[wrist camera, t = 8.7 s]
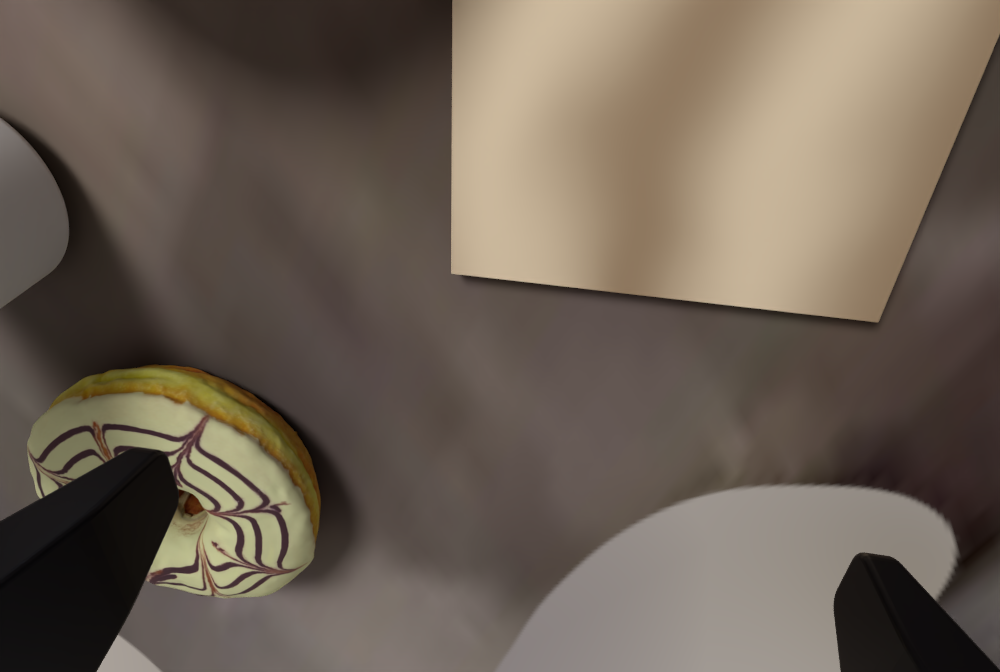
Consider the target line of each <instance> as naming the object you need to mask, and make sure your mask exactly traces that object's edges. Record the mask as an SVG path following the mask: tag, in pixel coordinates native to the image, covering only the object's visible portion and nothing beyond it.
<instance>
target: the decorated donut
mask: <svg viewBox="0 0 1000 672" xmlns="http://www.w3.org/2000/svg"><path fill="white" fill-rule="evenodd" d="M134 447H142V448H149V449H156V450H161V451H163V452H164V453H165V454H166V455H167V456H168V458H169V462H170V465H171V468H172V471H173V474H174V478H175V481H176V484H177V487H178V491H179V503H178V507H177V510H176V512H175V514H174V517H173V519H172V521H171V523H170V526H169V528H168V530H167V532H166V535H165V537H164V539H163V541H162V544H161V546H160V548H159V550H158V552H157V555H156V557H155V559H154V561H153V564H152V566H151V568H150V570H149V573H148V575H147V577H146V579H145V580H146V581H148V582H150V583H152V584H155V585H159V586H167V587H171V588H175V589H178V590H182V591H186V592H189V593H194V594H197V595H201V596H211V597H220V598H236V597H261V596H266V595H269V594H272V593H274V592H276V591H278V590H279V589H280V588H282V587H283V586H284V585H286V584H287V583H289V582H290V581H291V580H293V579H294V578H295V577H296V576H297V575H298V574H299V573H300V572H302V571H303V570H304V569H305V568H306V567H307V566H308V565H309V564H310V563H311V561H312V560H313V558H314V549H315V545H316V538H317V533H318V529H319V518H320V508H321V498H320V491H319V488H318V483H317V478H316V473H315V471H314V468H313V465H312V459H311V457H310V455H309V453H308V451H307V449H306V447H305V446H304V445H303V443H302V441H301V439H300V438H299V437H298V435H297V432H294V430H293V429H292V428H291V427H290V425H288V424H287V423H286V422H285V421H284V420H283V418H282V417H281V416H280V415H279V414H278V413H277V412H275V411H273V410H272V409H271V408H270V407H268V406H267V405H266V404H265V403H263V402H262V401H260V400H259V399H257V398H256V397H255V396H254V395H253V394H251V393H250V392H248V391H246V390H243V389H241V388H240V387H238V386H236V385H234V384H233V383H231V382H228V381H226V380H223V379H221V378H219V377H216V376H212V375H210V374H208V373H206V372H204V371H201V370H200V369H196V368H192V367H182V366H175V365H157V364H153V365H147V366H143V367H138V368H131V369H119V370H117V369H116V370H109V371H107V372H105V373H103V374H96V375H91V376H88V377H85V378H83V379H81V380H80V381H79V382H77V383H76V384H74V385H73V386H72V387H70V388H69V389H67V390H66V391H64V392H63V393H62V394H60V395H59V396H58V397H57V398H56V399H55V400H54V402H53V403H52V405H51V406H50V408H49V410H48V411H47V412H46V413H44V414H43V415H42V416H41V417H39V419H38V420H37V421H36V422H35V423H34V425H33V427H32V430H31V436H30V438H29V440H28V443H27V450H28V453H27V454H28V458H29V465H30V471H31V474H32V476H33V478H34V482H35V488H36V492H37V495H38V496H39V498H40V499H41V498H43V497H44V496H46V495H48V494H50V493H51V492H53V491H55V490H57V489H59V488H60V487H62V486H64V485H66V484H67V483H69V482H71V481H73V480H75V479H76V478H78V477H80V476H82V475H83V474H85V473H87V472H89V471H91V470H92V469H94V468H96V467H98V466H100V465H101V464H103V463H105V462H107V461H108V460H110V459H112V458H114V457H116V456H117V455H119V454H121V453H123V452H124V451H126V450H128V449H131V448H134Z"/></svg>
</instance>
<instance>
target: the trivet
mask: <svg viewBox="0 0 1000 672" xmlns="http://www.w3.org/2000/svg"><path fill="white" fill-rule="evenodd" d="M999 35H1000V0H452V224H451V274H460V275H468V276H477V277H486V278H495V279H503V280H512V281H521V282H529V283H538V284H547V285H556V286H564V287H573V288H582V289H591V290H599V291H608V292H617V293H626V294H634V295H643V296H652V297H660V298H669V299H678V300H687V301H695V302H704V303H713V304H722V305H730V306H739V307H748V308H756V309H765V310H774V311H783V312H791V313H800V314H809V315H818V316H826V317H835V318H844V319H853V320H861V321H870V322H879V319H880V317H881V315H882V312H883V310H884V308H885V305H886V303H887V300H888V298H889V296H890V293H891V291H892V289H893V286H894V284H895V281H896V279H897V277H898V274H899V272H900V270H901V267H902V265H903V262H904V260H905V258H906V255H907V253H908V251H909V248H910V246H911V243H912V241H913V239H914V236H915V234H916V232H917V229H918V227H919V224H920V222H921V220H922V217H923V215H924V213H925V210H926V208H927V205H928V203H929V201H930V198H931V196H932V194H933V191H934V189H935V186H936V184H937V182H938V179H939V177H940V175H941V172H942V170H943V167H944V165H945V163H946V160H947V158H948V156H949V153H950V151H951V149H952V146H953V144H954V141H955V139H956V137H957V134H958V132H959V130H960V127H961V125H962V122H963V120H964V118H965V115H966V113H967V111H968V108H969V106H970V103H971V101H972V99H973V96H974V94H975V92H976V89H977V87H978V84H979V82H980V80H981V77H982V75H983V73H984V70H985V68H986V65H987V63H988V61H989V58H990V56H991V54H992V51H993V49H994V46H995V44H996V42H997V39H998V37H999Z"/></svg>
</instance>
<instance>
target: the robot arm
mask: <svg viewBox="0 0 1000 672" xmlns="http://www.w3.org/2000/svg"><path fill="white" fill-rule="evenodd" d="M178 503H179V491H178V487H177V484H176V481H175V478H174V474H173V471H172V468H171V465H170V462H169V458H168V456H167V455H166V454H165V453H164V452H163V451H161V450H156V449H149V448H142V447H134V448H131V449H128V450H126V451H124V452H123V453H121V454H119V455H117V456H116V457H114V458H112V459H110V460H108V461H107V462H105V463H103V464H101V465H100V466H98V467H96V468H94V469H92V470H91V471H89V472H87V473H85V474H83V475H82V476H80V477H78V478H76V479H75V480H73V481H71V482H69V483H67V484H66V485H64V486H62V487H60V488H59V489H57V490H55V491H53V492H51V493H50V494H48V495H46V496H44V497H43V498H41V499H39V500H37V501H35V502H34V503H32V504H30V505H28V506H27V507H25V508H23V509H21V510H19V511H18V512H16V513H14V514H12V515H11V516H9V517H7V518H5V519H3V520H2V521H0V672H97V670H98V668H99V666H100V665H101V663H102V661H103V659H104V658H105V656H106V654H107V652H108V651H109V649H110V647H111V645H112V644H113V642H114V640H115V638H116V637H117V635H118V633H119V632H120V630H121V628H122V626H123V624H124V623H125V621H126V619H127V617H128V615H129V613H130V611H131V609H132V607H133V605H134V603H135V601H136V599H137V597H138V595H139V593H140V590H141V588H142V586H143V584H144V581H145V579H146V577H147V575H148V573H149V570H150V568H151V566H152V564H153V561H154V559H155V557H156V555H157V552H158V550H159V548H160V546H161V544H162V541H163V539H164V537H165V535H166V532H167V530H168V528H169V526H170V523H171V521H172V519H173V517H174V514H175V512H176V510H177V507H178ZM834 617H835V626H836V634H837V643H838V652H839V660H840V668H841V672H1000V669H999V668H998V667H997V666H996V665H995V664H994V663H993V662H992V661H991V660H990V659H989V658H988V657H987V655H986V654H985V653H984V652H983V651H982V650H981V649H980V648H979V647H978V646H977V645H976V644H975V643H974V642H973V640H972V639H971V638H970V637H969V636H968V635H967V634H966V633H965V632H964V631H963V630H962V629H961V628H960V627H959V625H958V624H957V623H956V622H955V621H954V620H953V619H952V618H951V617H950V616H949V615H948V614H947V613H946V611H945V610H944V609H943V608H942V607H941V606H940V605H939V604H938V603H937V602H936V601H935V600H934V599H933V598H932V596H931V595H930V594H929V593H928V592H927V591H926V590H925V589H924V588H923V587H922V586H921V585H920V584H919V583H918V582H917V580H916V579H915V578H914V577H913V576H912V575H911V574H910V573H909V572H908V571H907V570H906V569H905V568H904V567H903V565H902V564H901V563H900V562H899V561H897V560H896V559H894V558H892V557H890V556H884V555H877V554H870V553H859V554H857V555H856V556H855V557H854V558H853V560H852V562H851V563H850V565H849V568H848V569H847V571H846V573H845V575H844V577H843V579H842V581H841V583H840V585H839V587H838V589H837V591H836V594H835V598H834Z"/></svg>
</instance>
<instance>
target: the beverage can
mask: <svg viewBox="0 0 1000 672" xmlns="http://www.w3.org/2000/svg"><path fill="white" fill-rule="evenodd" d="M68 240H69V221H68V214H67V210H66V206H65V203H64V199H63V197H62V194H61V192H60V189H59V187H58V185H57V183H56V181H55V179H54V177H53V176H52V174H51V172H50V171H49V169H48V167H47V166H46V164H45V163H44V162H43V160H42V159H41V157H40V156H39V155H38V154H37V152H36V151H35V150H34V148H33V147H32V146H31V145H30V144H29V143H28V142H27V141H26V140H25V139H24V138H23V137H22V136H21V135H20V134H19V133H18V132H17V131H16V130H15V129H14V128H13V127H12V126H10V125H9V124H8V123H7V122H6V121H4V120H3V119H2V118H0V309H1V308H2V307H3V306H5V305H6V304H8V303H9V302H10V301H12V300H13V299H15V298H16V297H17V296H19V295H20V294H22V293H23V292H24V291H26V290H27V289H29V288H30V287H31V286H33V285H34V284H35V283H37V282H38V281H40V280H41V279H42V278H44V277H45V276H47V275H48V274H49V273H51V272H52V271H53V270H54V269H55V268H56V267H57V266H58V264H59V263H60V262H61V260H62V258H63V256H64V254H65V252H66V249H67V245H68Z"/></svg>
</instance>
